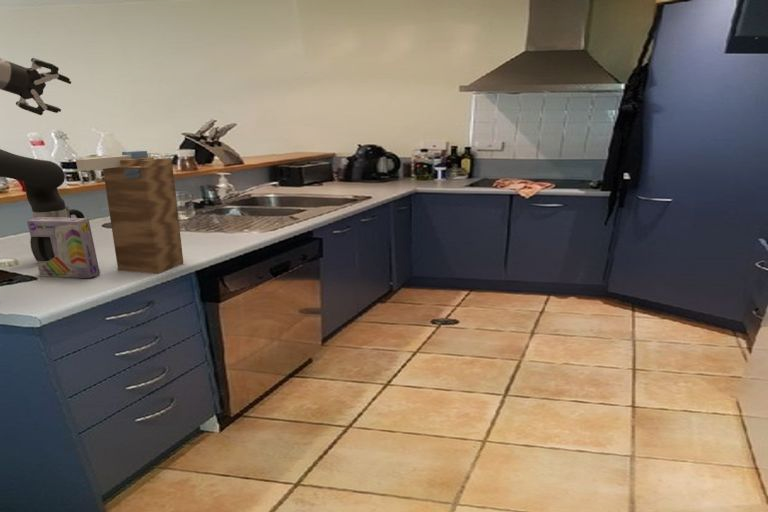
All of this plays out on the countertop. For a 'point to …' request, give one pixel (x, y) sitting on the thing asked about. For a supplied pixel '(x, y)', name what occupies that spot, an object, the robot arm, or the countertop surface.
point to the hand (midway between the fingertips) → (64, 96)
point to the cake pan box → (63, 247)
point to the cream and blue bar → (108, 160)
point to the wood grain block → (144, 215)
